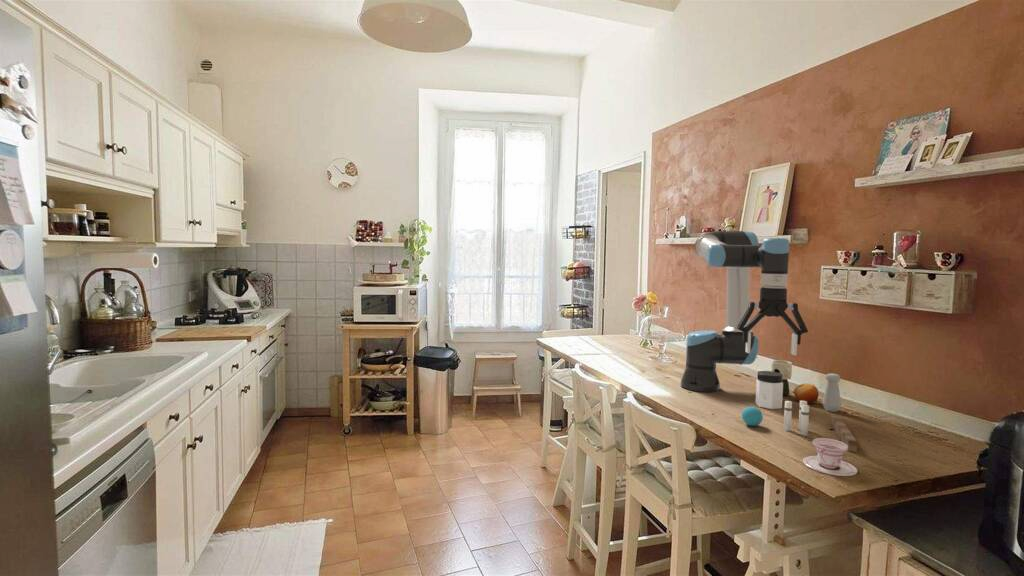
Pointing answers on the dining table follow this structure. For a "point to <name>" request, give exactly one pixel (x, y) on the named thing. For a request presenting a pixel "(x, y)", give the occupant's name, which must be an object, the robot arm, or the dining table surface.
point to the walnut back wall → (844, 433)
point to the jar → (769, 389)
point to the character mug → (783, 372)
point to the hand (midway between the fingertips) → (770, 353)
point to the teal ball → (752, 416)
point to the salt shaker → (832, 393)
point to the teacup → (830, 458)
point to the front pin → (787, 415)
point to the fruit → (806, 393)
